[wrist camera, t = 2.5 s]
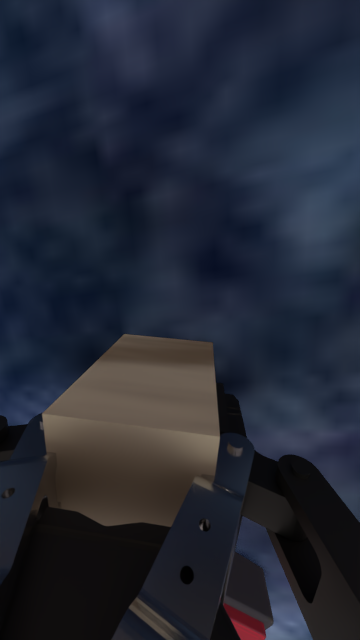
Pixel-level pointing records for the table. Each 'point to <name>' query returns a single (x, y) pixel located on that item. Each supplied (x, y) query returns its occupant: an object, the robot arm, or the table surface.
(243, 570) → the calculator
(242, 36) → the table surface
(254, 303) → the table surface
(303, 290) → the table surface
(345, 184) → the table surface
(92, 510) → the maple block
